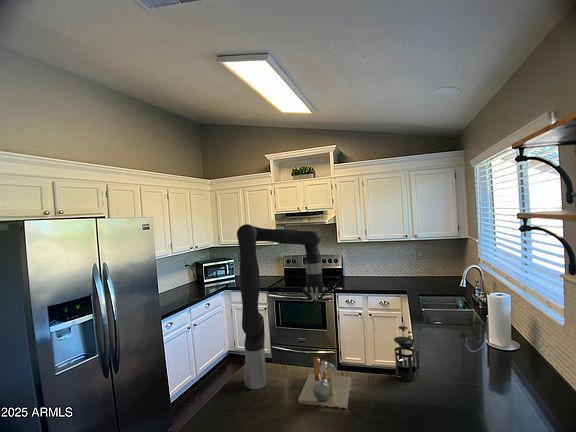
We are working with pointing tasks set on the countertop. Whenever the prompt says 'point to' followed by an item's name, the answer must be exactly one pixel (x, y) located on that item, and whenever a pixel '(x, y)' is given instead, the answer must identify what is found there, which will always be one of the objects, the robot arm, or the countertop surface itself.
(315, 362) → the valve lever
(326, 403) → the valve
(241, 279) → the robot arm
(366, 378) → the countertop surface
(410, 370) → the french press
